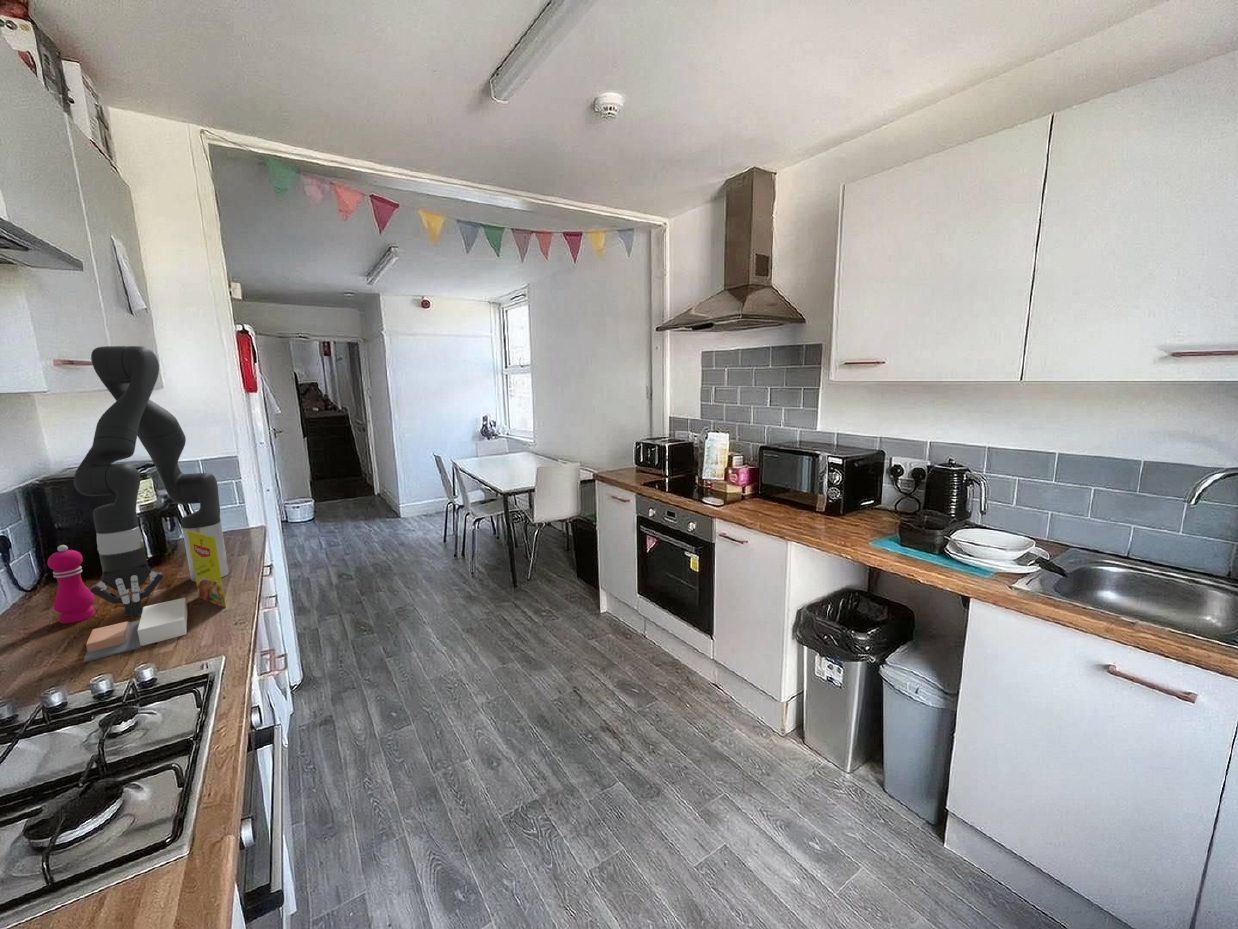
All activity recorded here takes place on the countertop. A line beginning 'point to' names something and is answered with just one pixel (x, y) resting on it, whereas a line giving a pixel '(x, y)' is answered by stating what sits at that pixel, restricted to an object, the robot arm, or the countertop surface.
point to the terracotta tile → (108, 636)
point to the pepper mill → (70, 586)
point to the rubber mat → (129, 645)
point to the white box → (163, 621)
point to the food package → (206, 568)
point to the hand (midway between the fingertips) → (135, 616)
